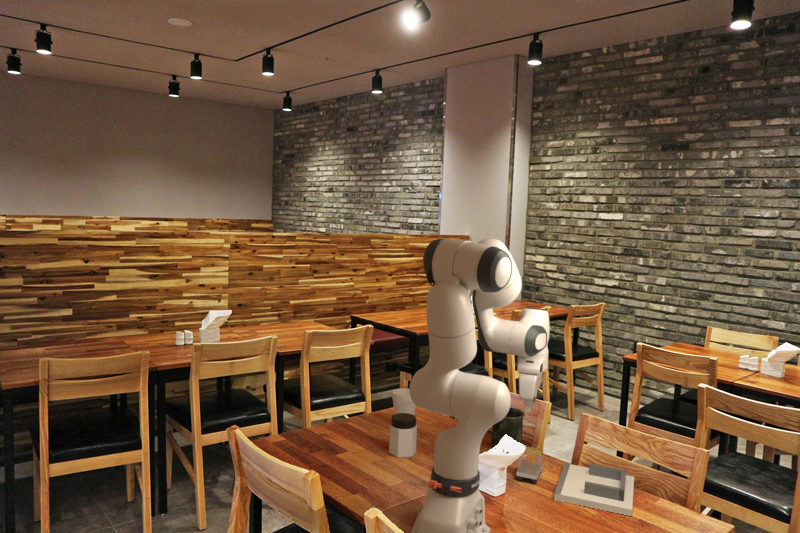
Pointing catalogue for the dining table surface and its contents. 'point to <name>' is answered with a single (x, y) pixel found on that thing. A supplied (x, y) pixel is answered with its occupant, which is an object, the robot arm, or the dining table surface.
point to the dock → (596, 488)
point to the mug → (509, 426)
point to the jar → (403, 435)
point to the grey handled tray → (530, 466)
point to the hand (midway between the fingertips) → (530, 406)
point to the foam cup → (403, 401)
